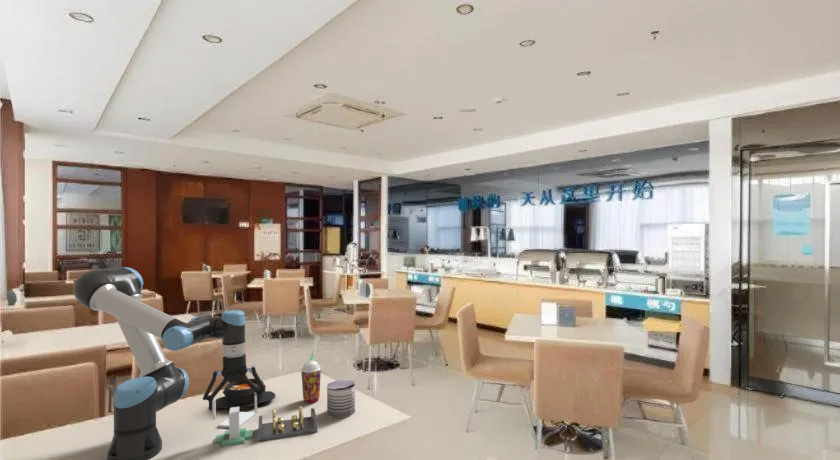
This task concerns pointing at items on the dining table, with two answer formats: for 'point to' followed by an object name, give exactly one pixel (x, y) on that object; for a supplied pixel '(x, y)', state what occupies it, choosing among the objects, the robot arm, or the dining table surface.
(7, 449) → the dining table surface
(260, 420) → the chassis
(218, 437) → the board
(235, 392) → the casserole
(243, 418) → the external hard drive
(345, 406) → the can
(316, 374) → the smoothie
